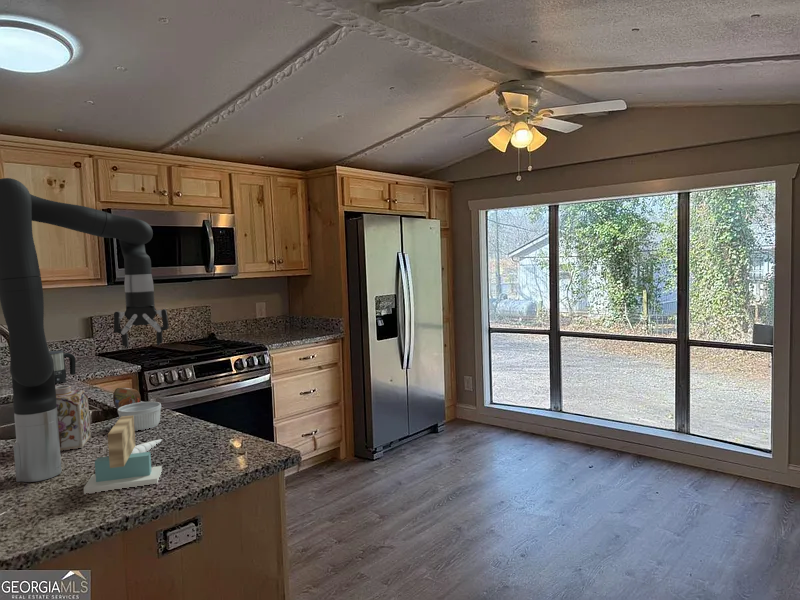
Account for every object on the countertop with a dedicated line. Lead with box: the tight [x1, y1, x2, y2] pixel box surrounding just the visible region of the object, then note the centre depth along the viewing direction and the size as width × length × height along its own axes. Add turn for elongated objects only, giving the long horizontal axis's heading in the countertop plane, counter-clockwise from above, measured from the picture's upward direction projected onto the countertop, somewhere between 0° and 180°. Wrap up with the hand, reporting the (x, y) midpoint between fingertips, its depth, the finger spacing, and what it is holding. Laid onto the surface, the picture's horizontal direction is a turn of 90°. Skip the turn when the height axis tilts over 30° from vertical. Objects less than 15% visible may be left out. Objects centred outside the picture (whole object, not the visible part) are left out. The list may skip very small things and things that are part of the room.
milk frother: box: [49, 350, 76, 383], centre depth 268 cm, size 14×16×15 cm
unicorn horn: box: [131, 438, 163, 454], centre depth 159 cm, size 5×24×5 cm, turn 171°
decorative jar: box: [55, 384, 92, 452], centre depth 169 cm, size 12×12×18 cm
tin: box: [112, 386, 142, 410], centre depth 209 cm, size 15×3×8 cm, turn 55°
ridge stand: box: [83, 451, 163, 495], centre depth 138 cm, size 16×9×6 cm, turn 106°
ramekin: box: [117, 401, 162, 432], centre depth 187 cm, size 13×13×7 cm
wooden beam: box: [107, 415, 136, 468], centre depth 138 cm, size 16×3×8 cm, turn 16°
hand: (143, 346), depth 163 cm, fingers open, 8 cm apart
